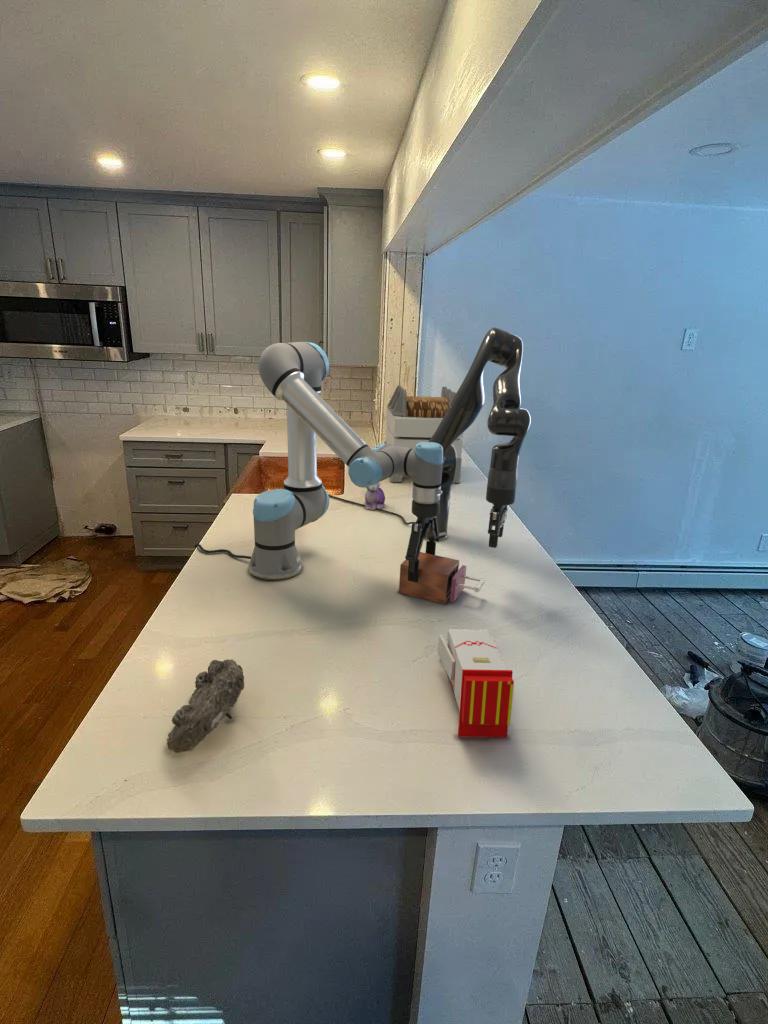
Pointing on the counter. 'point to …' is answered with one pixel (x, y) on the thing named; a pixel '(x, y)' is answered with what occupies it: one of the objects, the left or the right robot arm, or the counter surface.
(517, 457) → the right robot arm
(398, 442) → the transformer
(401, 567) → the cabinet
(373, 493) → the figurine
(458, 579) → the drawer
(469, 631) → the toy
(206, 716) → the fossil
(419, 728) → the counter surface
